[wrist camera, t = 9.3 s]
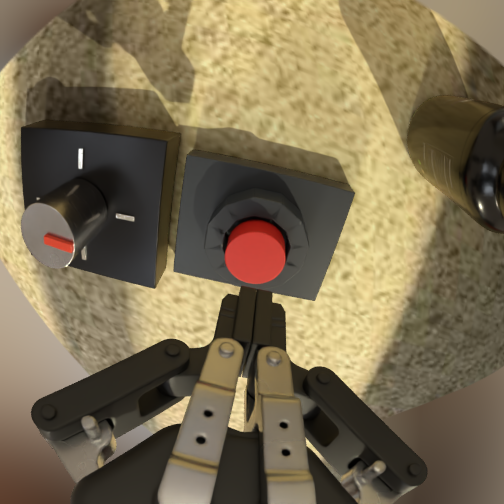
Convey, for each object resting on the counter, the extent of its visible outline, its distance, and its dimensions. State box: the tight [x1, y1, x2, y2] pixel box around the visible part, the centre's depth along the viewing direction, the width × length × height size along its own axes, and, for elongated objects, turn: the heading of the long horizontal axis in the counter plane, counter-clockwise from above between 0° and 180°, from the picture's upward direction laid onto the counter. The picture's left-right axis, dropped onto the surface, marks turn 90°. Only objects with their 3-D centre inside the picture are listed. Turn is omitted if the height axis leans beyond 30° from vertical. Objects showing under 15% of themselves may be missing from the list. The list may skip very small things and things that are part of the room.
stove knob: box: [21, 178, 107, 268], centre depth 18 cm, size 4×4×5 cm
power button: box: [225, 220, 286, 284], centre depth 20 cm, size 4×4×2 cm
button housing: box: [174, 150, 355, 301], centre depth 22 cm, size 11×9×4 cm
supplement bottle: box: [407, 95, 504, 234], centre depth 13 cm, size 7×7×12 cm
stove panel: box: [21, 120, 181, 289], centre depth 21 cm, size 12×11×3 cm
